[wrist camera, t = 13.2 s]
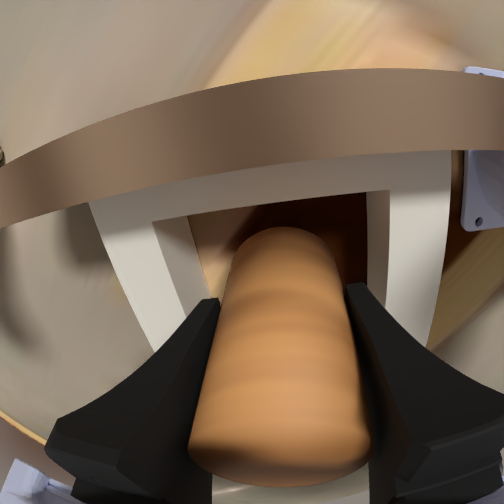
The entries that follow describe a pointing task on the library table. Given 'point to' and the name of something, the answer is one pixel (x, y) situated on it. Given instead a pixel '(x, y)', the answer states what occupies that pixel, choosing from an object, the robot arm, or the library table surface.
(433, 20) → the library table surface
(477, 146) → the wall
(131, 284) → the socket block
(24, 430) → the library table surface
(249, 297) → the dowel
